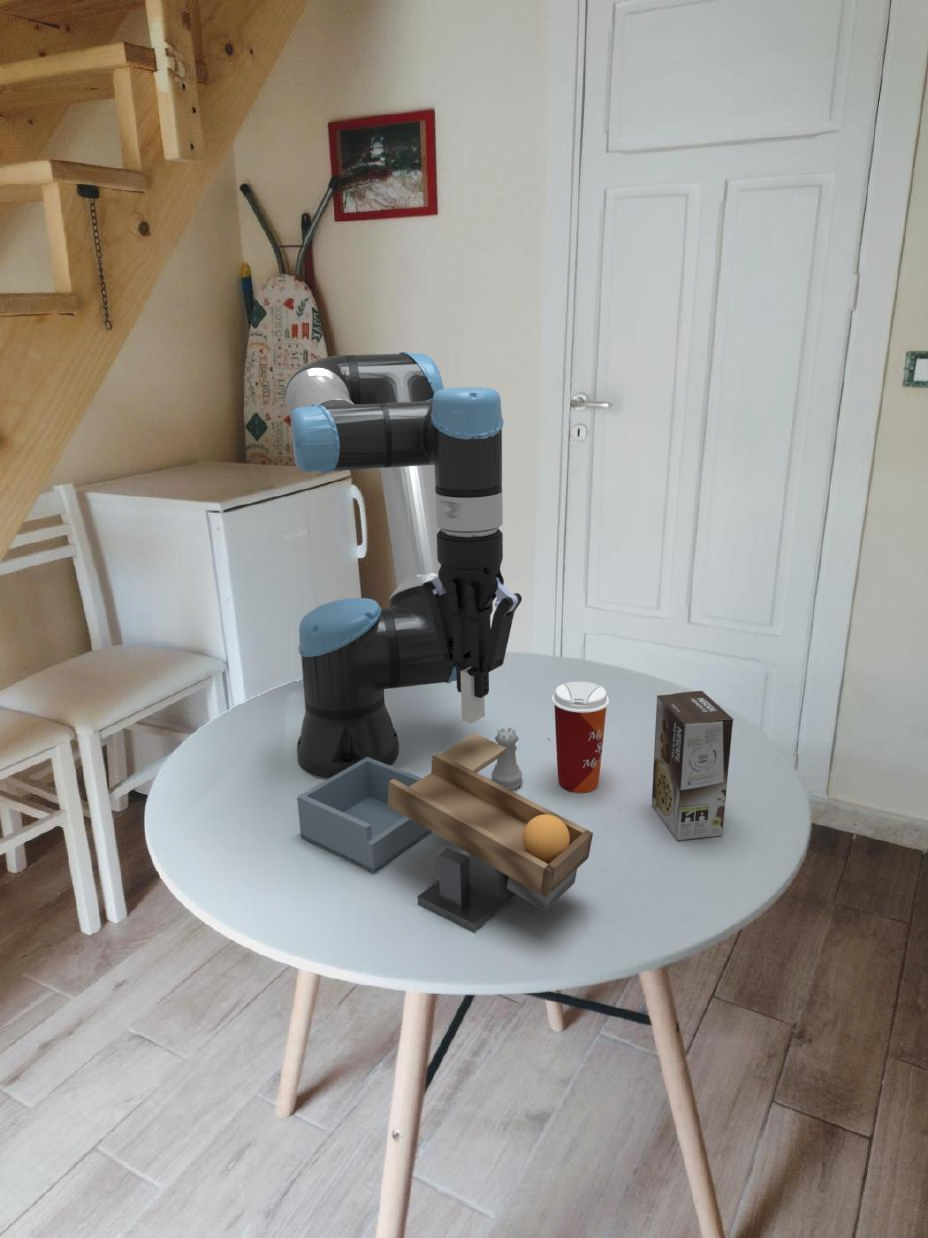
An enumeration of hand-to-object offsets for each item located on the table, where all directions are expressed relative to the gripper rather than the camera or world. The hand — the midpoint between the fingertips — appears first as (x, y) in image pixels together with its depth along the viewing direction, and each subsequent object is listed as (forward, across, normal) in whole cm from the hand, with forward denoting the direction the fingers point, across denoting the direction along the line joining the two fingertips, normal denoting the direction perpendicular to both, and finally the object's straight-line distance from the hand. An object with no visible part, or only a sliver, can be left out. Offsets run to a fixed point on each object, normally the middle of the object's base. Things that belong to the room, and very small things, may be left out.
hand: (473, 718), depth 106 cm
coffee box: (+16, +21, +18) cm, 32 cm away
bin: (+16, -10, -8) cm, 21 cm away
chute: (+12, +7, -5) cm, 15 cm away
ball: (+7, +16, -8) cm, 19 cm away
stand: (+16, +8, -8) cm, 19 cm away
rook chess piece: (+16, -3, +12) cm, 20 cm away
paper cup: (+16, +5, +18) cm, 24 cm away
